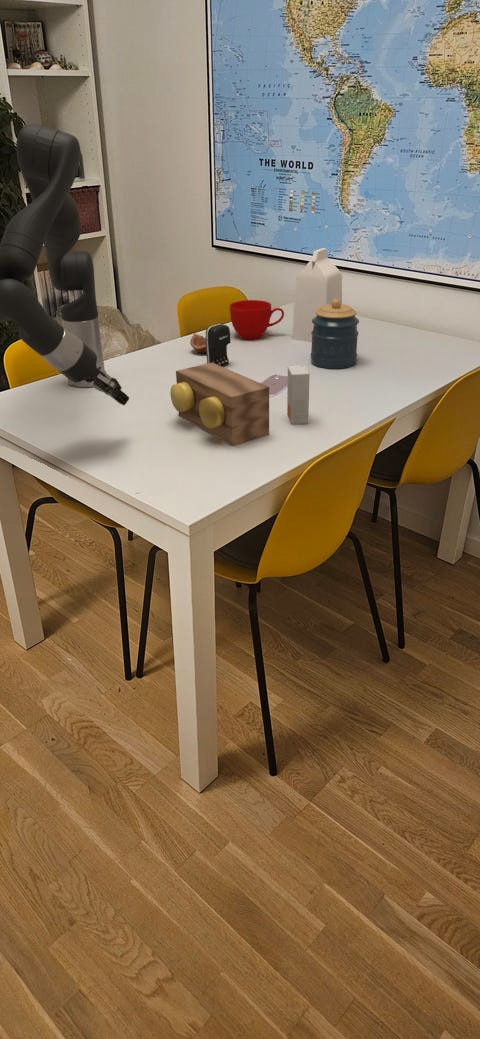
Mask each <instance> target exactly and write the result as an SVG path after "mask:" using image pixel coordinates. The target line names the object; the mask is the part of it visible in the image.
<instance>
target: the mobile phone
mask: <svg viewBox="0 0 480 1039" xmlns="http://www.w3.org/2000/svg"><path fill="white" fill-rule="evenodd" d="M260 383H261V384H263V385H266V386H268V387H269V398H275V397H277V396H278V395H280V394H281V393H282V392H283V390H284V391H285V390H287V389H288V375H287V376H286V375H281V374H272V375H271V376H269V377H267V378H266V379H265V380H263V381H262V382H260ZM279 393H280V394H279ZM274 396H275V397H274Z"/></svg>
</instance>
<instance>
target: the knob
mask: <svg viewBox="0 0 480 1039" xmlns="http://www.w3.org/2000/svg"><path fill="white" fill-rule="evenodd" d="M169 395H170V399H171V400H170V401H171V402H172V405H173V407H174V409H175V410H176V411H177V412H178V413H179V412H184V411H188V410H191V409H193V407H194V394H193V389H192V388H191V387H190V386H189V384H187V383H186V382H182V383H178V384H177V383H174V384H173V385H172V386H171V387H170V394H169Z"/></svg>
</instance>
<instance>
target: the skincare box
mask: <svg viewBox="0 0 480 1039" xmlns="http://www.w3.org/2000/svg"><path fill="white" fill-rule="evenodd" d="M287 376H288V388H287V393H286V394H287V397H286V398H287V401H286V402H287V403H286V404H287V405H286V406H287V410H286V411H287V412H286V414H287V417H288V420H289V422H290V424H291V425H300V424H301V425H302V424H303V425H304V424H305V425H307V424H309V416H310V415H309V412H310V411H309V409H310V372H309V370H308V368H307V366H306V365H288V366H287Z"/></svg>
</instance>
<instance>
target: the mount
mask: <svg viewBox="0 0 480 1039" xmlns="http://www.w3.org/2000/svg"><path fill="white" fill-rule="evenodd" d="M175 377H176V378H175V379H176V384H178V383H182V382H186V383H187V384H189V386H190V387H191V388H192V389H193V394H194V407H193V409H191V410H188V411H184V412H178V417H180V418H181V419H183V420H185V421H187V422H188V423H190V424H192V425H194V426H196V427H198V428H200V429H201V430H203V431H205V432H206V433H208V434H210V435H212V436H214V437H216V438H217V439H220V440H221V441H223V442H225V443H227V444H228V445H231V446H232V447H233V446H237V445H241V444H243V443H246V442H249V441H254V440H255V439H259V438H262V437H266V436H269V435H270V397H269V387H268V386H266V385H263V384H261V383H262V382H258V381H256V380H254V379H251V378H249V377H247V376H244V375H242V374H240V373H237V372H235V371H234V370H230V369H228V368H227V367H225V366H223V367H222V366H219V365H217V364H215V363H207V362H206V363H204V364H199V365H196V366H192V367H188V368H184V369H179V370H178V369H177V370H175Z"/></svg>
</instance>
